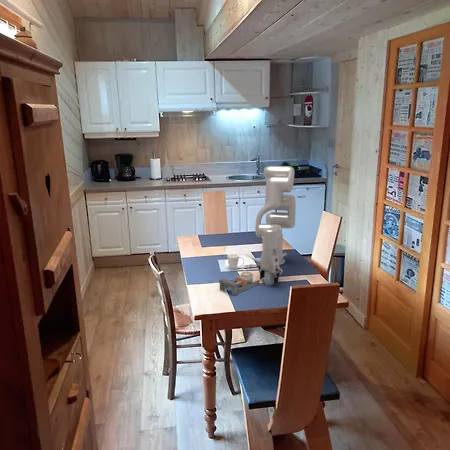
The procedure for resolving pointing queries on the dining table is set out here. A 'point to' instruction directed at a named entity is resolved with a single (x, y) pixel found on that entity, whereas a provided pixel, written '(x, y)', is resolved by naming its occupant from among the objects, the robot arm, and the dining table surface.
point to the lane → (235, 285)
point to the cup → (233, 261)
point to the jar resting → (247, 276)
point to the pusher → (240, 281)
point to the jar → (269, 278)
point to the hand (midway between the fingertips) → (269, 280)
